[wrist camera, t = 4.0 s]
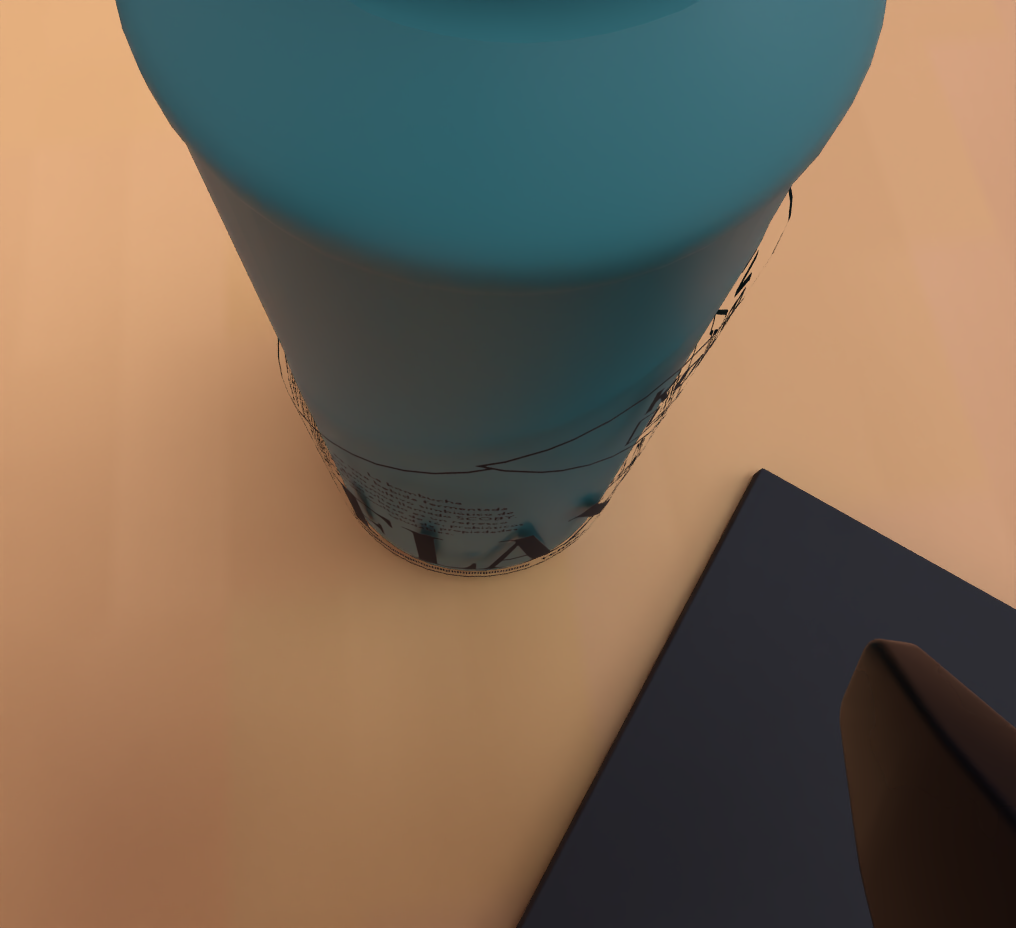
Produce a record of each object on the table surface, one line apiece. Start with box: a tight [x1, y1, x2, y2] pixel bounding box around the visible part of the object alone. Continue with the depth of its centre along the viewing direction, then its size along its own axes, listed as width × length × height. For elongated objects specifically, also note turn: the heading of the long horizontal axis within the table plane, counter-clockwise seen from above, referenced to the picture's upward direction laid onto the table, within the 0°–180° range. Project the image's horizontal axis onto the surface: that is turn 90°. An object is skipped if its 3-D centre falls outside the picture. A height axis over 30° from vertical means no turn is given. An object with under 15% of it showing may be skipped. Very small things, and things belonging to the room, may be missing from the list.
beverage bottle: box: [115, 0, 886, 577], centre depth 13 cm, size 6×7×20 cm
